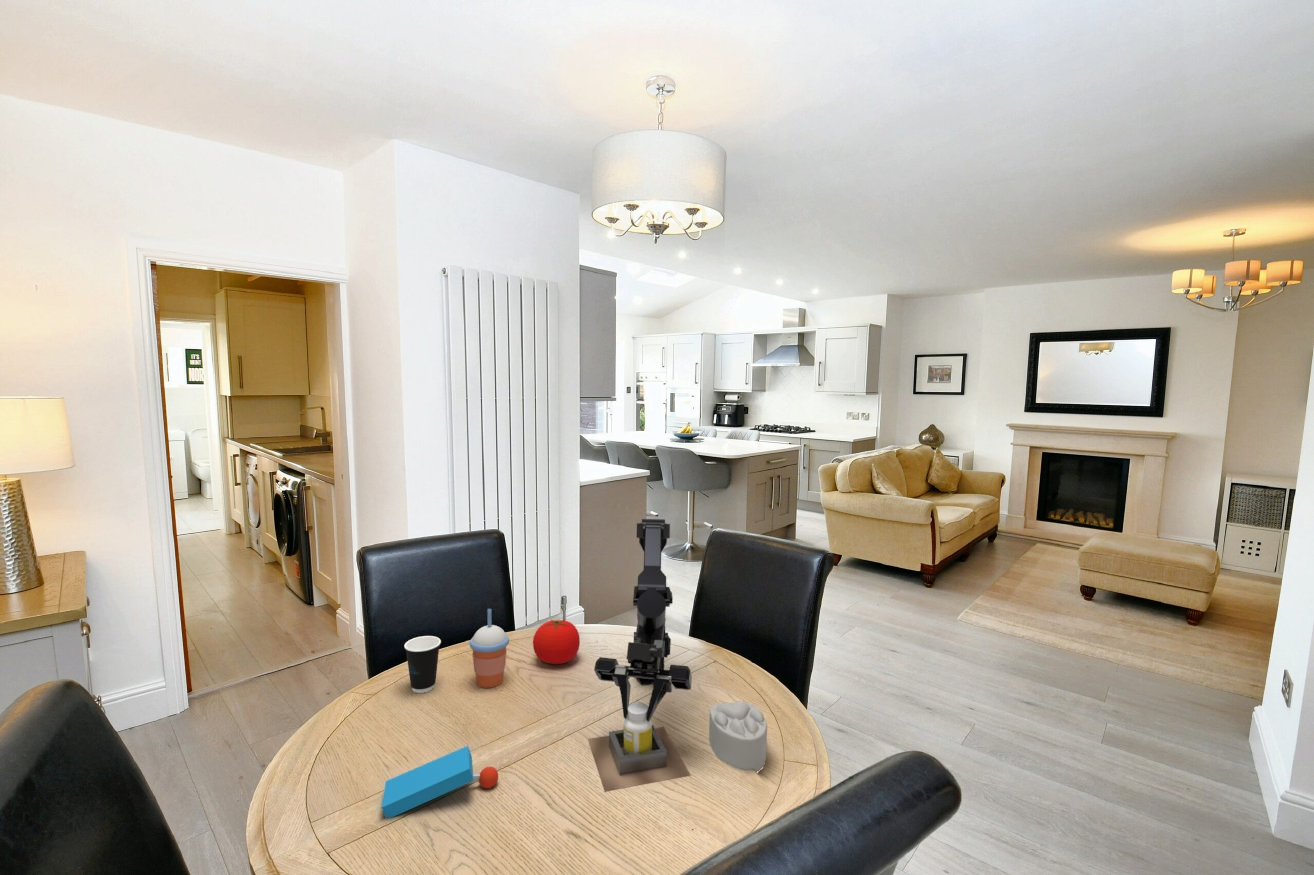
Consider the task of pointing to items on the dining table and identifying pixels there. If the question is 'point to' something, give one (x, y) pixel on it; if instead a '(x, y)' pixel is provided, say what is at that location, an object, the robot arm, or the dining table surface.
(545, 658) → the tomato
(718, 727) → the lumpy-topped squat cylinder
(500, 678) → the cup with straw
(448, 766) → the lever
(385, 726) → the dining table surface
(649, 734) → the supplement bottle
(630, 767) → the metal collar
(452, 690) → the dining table surface
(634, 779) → the walnut board
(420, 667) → the dixie cup
